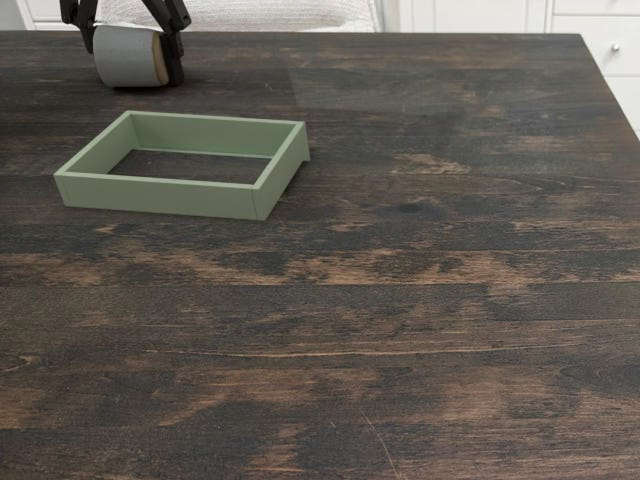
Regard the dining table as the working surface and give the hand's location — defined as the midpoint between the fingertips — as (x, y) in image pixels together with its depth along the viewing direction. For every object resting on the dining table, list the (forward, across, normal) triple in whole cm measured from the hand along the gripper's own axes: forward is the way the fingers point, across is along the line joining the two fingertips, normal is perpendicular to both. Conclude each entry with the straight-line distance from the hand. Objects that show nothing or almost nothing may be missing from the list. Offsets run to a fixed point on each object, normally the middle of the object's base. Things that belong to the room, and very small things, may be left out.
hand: (143, 79), depth 103 cm
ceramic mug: (0, 0, 0) cm, 0 cm away
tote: (0, -19, +28) cm, 34 cm away
